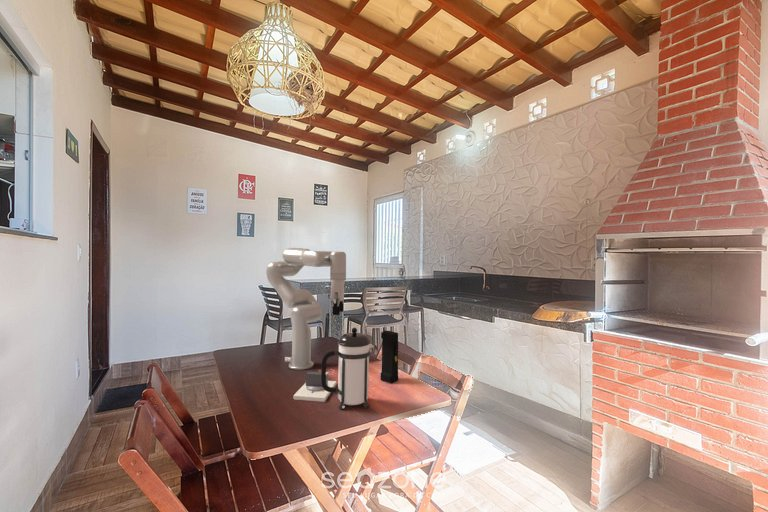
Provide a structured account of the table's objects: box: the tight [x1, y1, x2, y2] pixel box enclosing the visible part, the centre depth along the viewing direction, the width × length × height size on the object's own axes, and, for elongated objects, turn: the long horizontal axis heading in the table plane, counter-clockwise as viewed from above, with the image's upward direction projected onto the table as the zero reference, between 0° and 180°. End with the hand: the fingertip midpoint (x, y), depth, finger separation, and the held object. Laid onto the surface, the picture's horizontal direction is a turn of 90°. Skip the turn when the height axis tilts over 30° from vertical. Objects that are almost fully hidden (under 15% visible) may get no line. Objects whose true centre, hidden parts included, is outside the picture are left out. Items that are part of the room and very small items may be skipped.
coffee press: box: [321, 327, 374, 411], centre depth 134 cm, size 17×16×30 cm
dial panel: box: [292, 380, 337, 403], centre depth 145 cm, size 13×18×2 cm
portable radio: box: [380, 325, 399, 384], centre depth 159 cm, size 8×6×25 cm
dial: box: [305, 371, 329, 391], centre depth 146 cm, size 9×9×6 cm
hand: (338, 313), depth 163 cm, fingers open, 9 cm apart
